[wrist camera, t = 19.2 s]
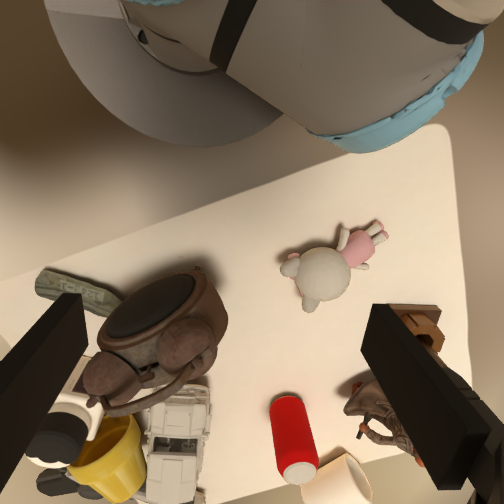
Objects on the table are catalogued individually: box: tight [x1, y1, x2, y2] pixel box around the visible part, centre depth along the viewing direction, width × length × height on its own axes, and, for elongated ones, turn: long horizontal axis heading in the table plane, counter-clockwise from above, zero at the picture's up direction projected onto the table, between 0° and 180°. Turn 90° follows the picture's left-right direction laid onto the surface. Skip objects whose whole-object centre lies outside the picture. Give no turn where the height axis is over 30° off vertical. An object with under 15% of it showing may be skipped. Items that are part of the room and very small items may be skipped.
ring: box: [400, 313, 445, 354], centre depth 49 cm, size 7×7×3 cm
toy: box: [280, 221, 389, 313], centre depth 44 cm, size 8×7×15 cm
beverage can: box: [269, 396, 319, 485], centre depth 51 cm, size 6×6×12 cm
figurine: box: [344, 379, 425, 467], centre depth 50 cm, size 14×7×15 cm, turn 80°
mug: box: [301, 453, 374, 504], centre depth 62 cm, size 8×10×12 cm
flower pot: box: [66, 414, 147, 503], centre depth 51 cm, size 10×10×10 cm
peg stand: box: [389, 304, 447, 367], centre depth 45 cm, size 8×8×15 cm
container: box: [25, 356, 105, 468], centre depth 46 cm, size 8×8×13 cm
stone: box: [35, 270, 123, 317], centre depth 45 cm, size 12×2×5 cm
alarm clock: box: [83, 266, 228, 417], centre depth 37 cm, size 15×7×20 cm, turn 113°
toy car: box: [144, 383, 212, 504], centre depth 51 cm, size 10×20×10 cm, turn 172°
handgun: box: [36, 467, 206, 504], centre depth 60 cm, size 5×29×15 cm
